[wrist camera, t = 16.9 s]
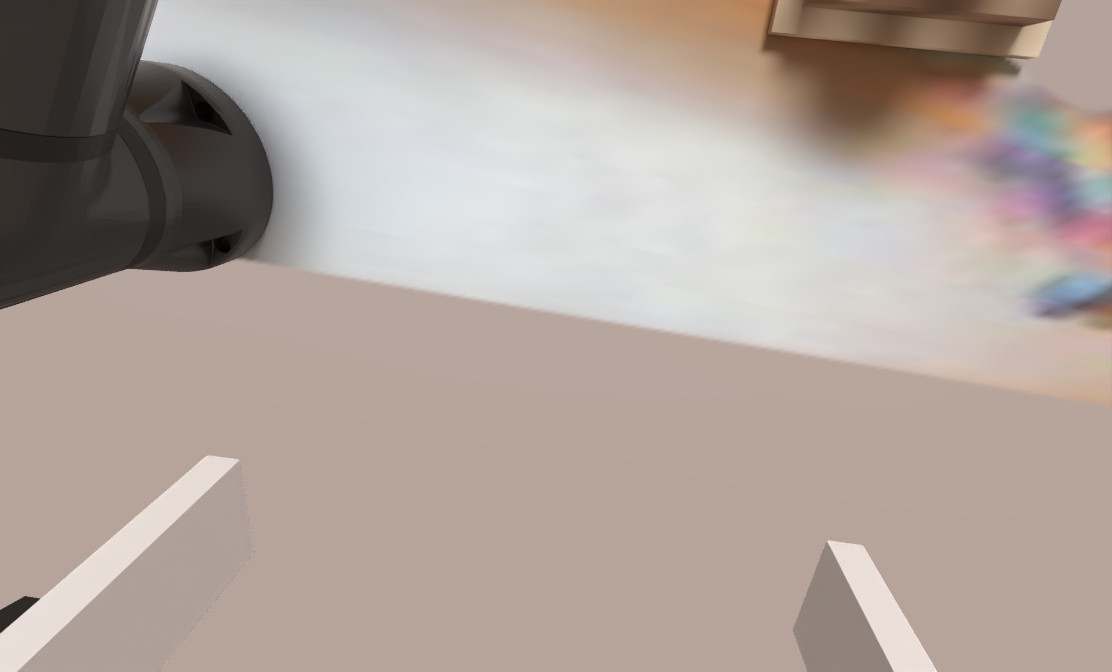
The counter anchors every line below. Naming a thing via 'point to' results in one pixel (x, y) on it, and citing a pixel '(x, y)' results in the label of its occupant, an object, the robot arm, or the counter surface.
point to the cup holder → (922, 24)
